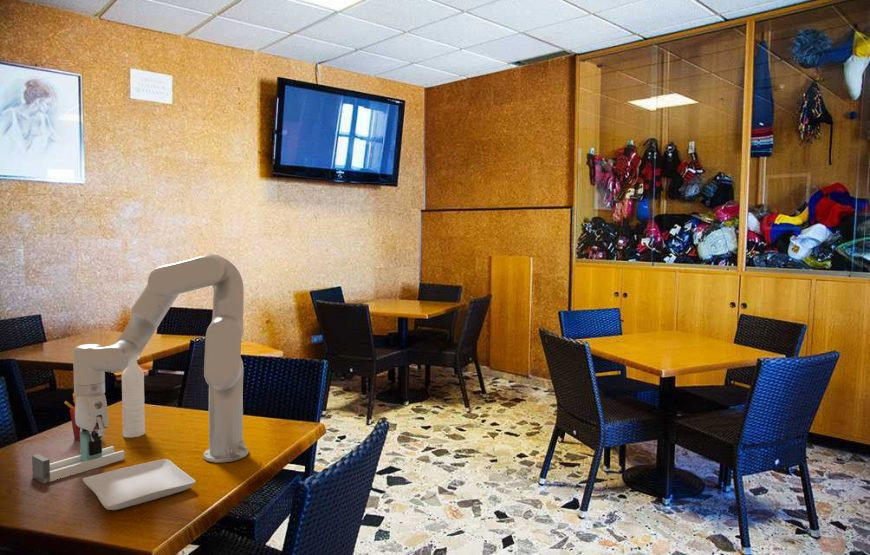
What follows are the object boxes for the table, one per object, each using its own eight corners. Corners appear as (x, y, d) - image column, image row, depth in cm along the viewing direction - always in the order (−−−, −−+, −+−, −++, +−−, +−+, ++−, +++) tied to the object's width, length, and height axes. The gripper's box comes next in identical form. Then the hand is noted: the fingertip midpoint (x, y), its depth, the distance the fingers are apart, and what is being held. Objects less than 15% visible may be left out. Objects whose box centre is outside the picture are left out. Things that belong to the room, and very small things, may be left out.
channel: (124, 459, 170) (123, 439, 170) (43, 483, 153) (43, 461, 152) (112, 454, 174) (112, 434, 173) (32, 477, 156) (32, 455, 156)
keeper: (102, 459, 166) (102, 431, 166) (87, 464, 163) (86, 435, 162) (95, 456, 168) (94, 428, 168) (80, 460, 165) (79, 432, 164)
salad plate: (197, 492, 150) (197, 479, 149) (105, 520, 135) (105, 505, 134) (166, 468, 165) (166, 456, 164) (81, 490, 150) (80, 477, 150)
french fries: (88, 433, 192) (87, 388, 191) (107, 436, 189) (106, 390, 188) (63, 442, 183) (62, 394, 182) (82, 445, 181) (81, 397, 180)
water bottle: (142, 437, 189) (141, 360, 187) (120, 438, 187) (118, 361, 185) (148, 428, 197) (147, 355, 195) (127, 430, 195) (125, 356, 194)
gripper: (118, 390, 162) (119, 455, 164) (89, 381, 172) (90, 442, 173) (90, 396, 156) (91, 463, 158) (61, 386, 166) (63, 449, 167)
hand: (91, 451), depth 165 cm, fingers closed on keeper, 4 cm apart
